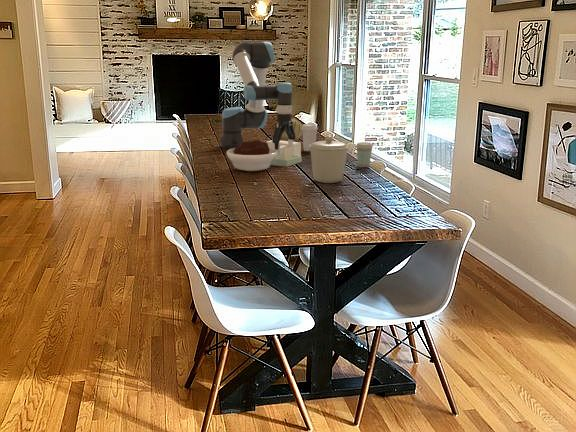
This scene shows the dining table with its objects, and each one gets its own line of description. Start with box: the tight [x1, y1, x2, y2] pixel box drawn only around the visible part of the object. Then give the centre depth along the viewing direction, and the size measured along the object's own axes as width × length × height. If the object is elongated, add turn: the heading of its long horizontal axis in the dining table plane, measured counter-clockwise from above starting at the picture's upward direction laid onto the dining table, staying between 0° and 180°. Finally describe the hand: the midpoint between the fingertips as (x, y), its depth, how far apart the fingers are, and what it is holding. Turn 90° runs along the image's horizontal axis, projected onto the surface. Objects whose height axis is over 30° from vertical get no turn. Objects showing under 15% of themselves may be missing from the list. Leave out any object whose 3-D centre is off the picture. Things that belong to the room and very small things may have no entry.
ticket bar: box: [265, 140, 302, 156], centre depth 349 cm, size 18×8×8 cm, turn 60°
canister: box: [309, 135, 349, 184], centre depth 287 cm, size 18×18×21 cm
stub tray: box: [270, 155, 303, 168], centre depth 331 cm, size 13×16×3 cm
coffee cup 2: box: [355, 142, 374, 168], centre depth 322 cm, size 8×8×12 cm
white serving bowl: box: [226, 139, 277, 172], centre depth 311 cm, size 25×25×15 cm
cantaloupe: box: [281, 117, 303, 142], centre depth 400 cm, size 15×15×15 cm
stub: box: [275, 145, 293, 160], centre depth 330 cm, size 6×8×8 cm
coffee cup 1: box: [301, 123, 319, 152], centre depth 368 cm, size 10×10×15 cm
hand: (283, 153), depth 330 cm, fingers open, 13 cm apart
